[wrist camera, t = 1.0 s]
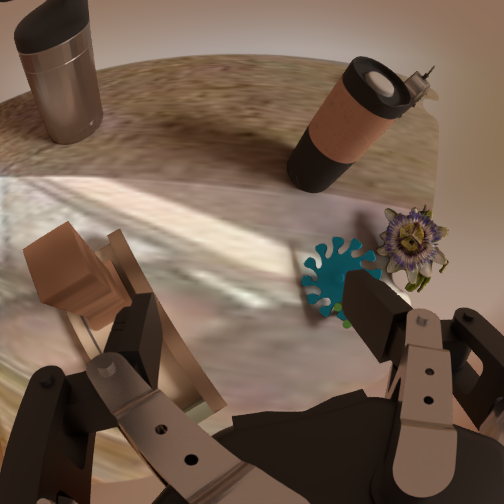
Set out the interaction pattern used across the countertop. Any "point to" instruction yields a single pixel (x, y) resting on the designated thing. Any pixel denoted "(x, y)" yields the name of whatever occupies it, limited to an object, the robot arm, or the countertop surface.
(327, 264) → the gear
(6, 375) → the countertop surface
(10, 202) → the countertop surface
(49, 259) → the panel
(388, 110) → the travel mug
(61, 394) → the robot arm
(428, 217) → the passion flower
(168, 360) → the board
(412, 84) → the alarm clock
